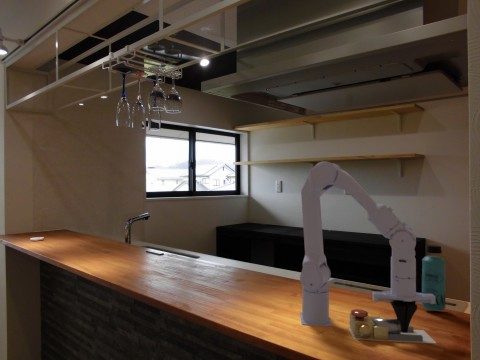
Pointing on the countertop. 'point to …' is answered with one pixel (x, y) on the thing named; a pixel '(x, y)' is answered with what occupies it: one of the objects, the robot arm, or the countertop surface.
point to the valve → (366, 326)
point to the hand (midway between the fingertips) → (403, 331)
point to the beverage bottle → (434, 278)
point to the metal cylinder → (388, 324)
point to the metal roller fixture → (406, 336)
